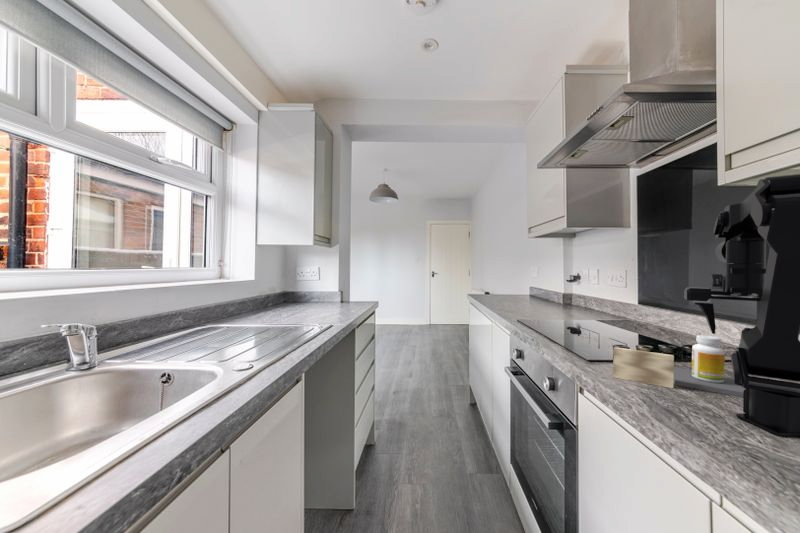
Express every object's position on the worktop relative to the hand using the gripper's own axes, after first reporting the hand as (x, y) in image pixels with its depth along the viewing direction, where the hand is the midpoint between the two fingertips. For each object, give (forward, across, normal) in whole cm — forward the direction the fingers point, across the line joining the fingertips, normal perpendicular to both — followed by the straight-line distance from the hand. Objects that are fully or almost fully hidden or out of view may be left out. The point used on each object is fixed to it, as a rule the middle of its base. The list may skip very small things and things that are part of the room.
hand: (743, 336), depth 67 cm
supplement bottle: (+11, +5, -2) cm, 13 cm away
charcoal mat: (+12, +5, -3) cm, 13 cm away
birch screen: (+12, +17, +5) cm, 22 cm away
